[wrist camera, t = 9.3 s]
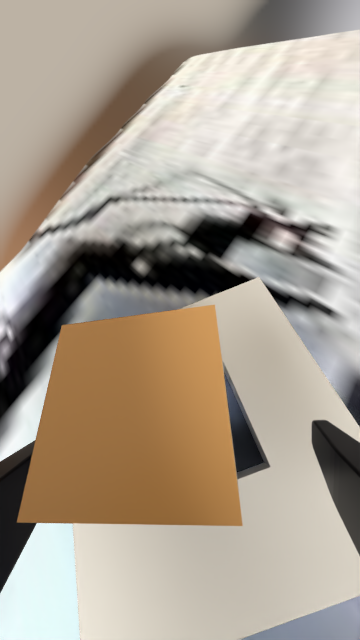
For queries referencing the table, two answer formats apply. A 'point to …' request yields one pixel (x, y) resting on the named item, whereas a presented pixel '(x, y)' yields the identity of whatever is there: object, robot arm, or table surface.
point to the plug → (136, 426)
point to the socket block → (256, 509)
